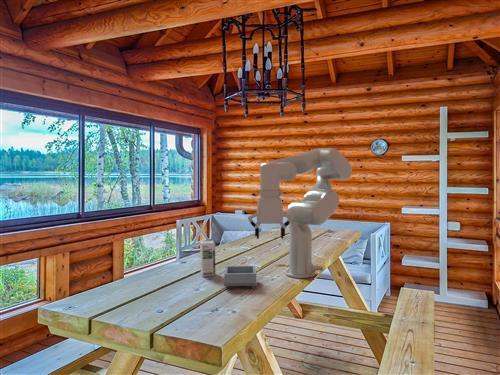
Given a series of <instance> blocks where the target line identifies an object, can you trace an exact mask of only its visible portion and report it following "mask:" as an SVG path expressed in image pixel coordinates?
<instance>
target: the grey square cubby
mask: <svg viewBox="0 0 500 375" xmlns="http://www.w3.org/2000/svg"><path fill="white" fill-rule="evenodd" d="M256 270H257V269H256V265H225V267H224V273H223V276H224V278H223V279H224V282H223V283H224V287H227V289H228V290H232V289H233V287H239V286H240V287H242V286H244V287H246V286H247V287H248V288H249V289H251V290H252V289H253V288H254V286H257V271H256Z"/></svg>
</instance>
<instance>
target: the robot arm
mask: <svg viewBox="0 0 500 375" xmlns="http://www.w3.org/2000/svg"><path fill="white" fill-rule="evenodd" d="M315 170H316V181H315V182H316V183H315V184H314V185H313V186H312V187H311V188H309V190H308V191H307V192H306V193H305V194H304V195H303V197H302V199H301V200H302V201H301V200H296V201H292V202H290V203H289V204H288V206H287V208H286V213H285V212H284V210H283V209H284V208H283V202H282V197H281V196H283V195H284V191H281V190H280V186H281V184H280V182H290V181H293V180H294V179H295V178H296V177H297V176H298V175H303V174H307V173H310V172H312V171H315ZM259 174H260V175H259V176H260V177H259V178H260V179H259V183H260V184H259V185H260V186H259V188H260V189H259V190H260V191H259V193H260V194H259V197H258V198H257V204H256V205H257V206H256V212H254V213H253V214H251V215H249V216H248V217H247V219H248V222H249V223H250V225H251V226H252V227H253V228H254V236H255V237H256V239H257V240H259V239H260V228H259V227H260V225H261V224H265V225H267V224H270V225H271V224H277V225H280V226H281V227H280V238H281V239H282V240H283V239H284V237H285V236H286V228H287V227H288V232H289V235H288V236H289V240H288V242H289V243H288V244H289V245H288V246H289V248H288V250H289V254H288V256H289V257H288V258H289V268H288V269H287V270H286V271H285V275H286V276H288V277H290V278H295V279H297V278H298V279H307V278H313V277H314V276H316V271H324V269H323V268H324V266H323V265H318V264H313V263H312V258H313V257H312V255H313V254H312V252H313V251H312V250H313V249H312V248H313V246H312V245H313V244H312V243H313V242H312V239H313V238H312V237H313V236H312V231H311V228H310V226H311V225H312V226H322V225H323V224H324V223H326V222H327V220H329V218H330V217H331V216H333V214H334V213H335V211H337V209H338V207H339V203H340V197H339V194H338V193H337V192H336V190H334V189H333V186H332V184H331V183H330V181H346V180H348V179H350V178H351V177H352V174H353V167H352V164H351V163H350V161H349V160H348V159H347V158H346V156H344V155H343V154H342V153H341V152H340V151H339V150H337V148H336V149H335V148H334V147H328V148H327V147H325V148H314V149H312V150H308V151H306V152H303V153H300V154H295V155H291V156H289V157H284V158H280V159H276V160H272V161H270V162H263V163H261V164H260V167H259ZM254 218H256V222H254V220H253V219H254ZM284 218H287V219H286V221H285V222H284ZM309 225H310V226H309Z"/></svg>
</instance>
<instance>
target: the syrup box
mask: <svg viewBox="0 0 500 375" xmlns="http://www.w3.org/2000/svg"><path fill="white" fill-rule="evenodd" d="M199 249H200V250H199V256H200V257H199V258H200V259H199V260H200V262H199V264H200V275H201V277H202V278H205V277H215V276H216V275H217V274H216V243H215V241H214V240H203V241H202V240H201V241H199Z"/></svg>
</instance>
